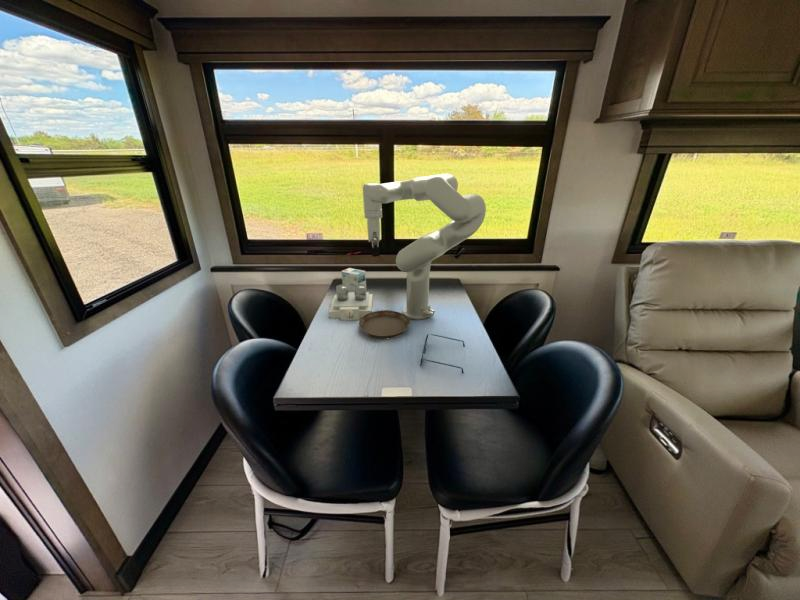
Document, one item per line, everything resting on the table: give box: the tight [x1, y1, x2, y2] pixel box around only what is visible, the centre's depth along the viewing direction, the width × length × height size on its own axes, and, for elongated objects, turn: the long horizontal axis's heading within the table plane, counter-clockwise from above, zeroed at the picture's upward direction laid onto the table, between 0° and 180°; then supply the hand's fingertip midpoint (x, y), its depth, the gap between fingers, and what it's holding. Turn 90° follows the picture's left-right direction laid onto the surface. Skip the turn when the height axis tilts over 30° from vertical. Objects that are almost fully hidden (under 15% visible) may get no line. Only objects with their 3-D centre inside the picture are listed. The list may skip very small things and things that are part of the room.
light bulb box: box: [341, 267, 367, 292], centre depth 169 cm, size 11×7×11 cm, turn 58°
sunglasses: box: [419, 333, 466, 374], centre depth 115 cm, size 17×15×5 cm
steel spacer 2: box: [354, 284, 367, 301], centre depth 149 cm, size 5×5×6 cm
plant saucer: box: [358, 309, 411, 340], centre depth 134 cm, size 21×21×3 cm
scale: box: [328, 291, 374, 321], centre depth 149 cm, size 18×21×5 cm
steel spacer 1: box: [335, 283, 349, 301], centre depth 148 cm, size 5×5×6 cm
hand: (375, 253), depth 147 cm, fingers open, 9 cm apart
